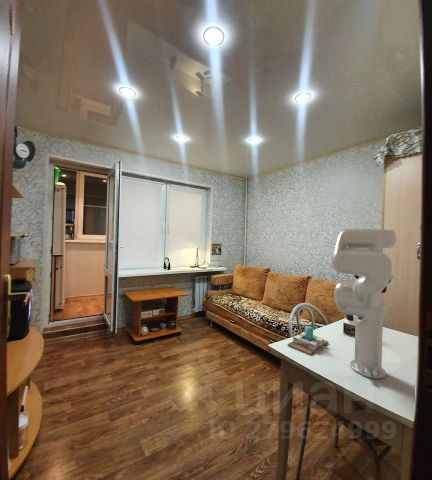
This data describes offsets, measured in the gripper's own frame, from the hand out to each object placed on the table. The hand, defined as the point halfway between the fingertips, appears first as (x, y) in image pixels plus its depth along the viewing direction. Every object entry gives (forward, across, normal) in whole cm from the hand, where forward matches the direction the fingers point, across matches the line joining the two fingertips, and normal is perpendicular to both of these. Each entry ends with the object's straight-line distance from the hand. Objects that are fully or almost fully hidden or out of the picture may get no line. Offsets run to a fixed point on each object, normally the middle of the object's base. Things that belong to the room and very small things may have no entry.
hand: (371, 290), depth 111 cm
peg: (+29, +21, +20) cm, 41 cm away
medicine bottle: (+31, +15, -14) cm, 37 cm away
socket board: (+30, +21, +20) cm, 42 cm away
